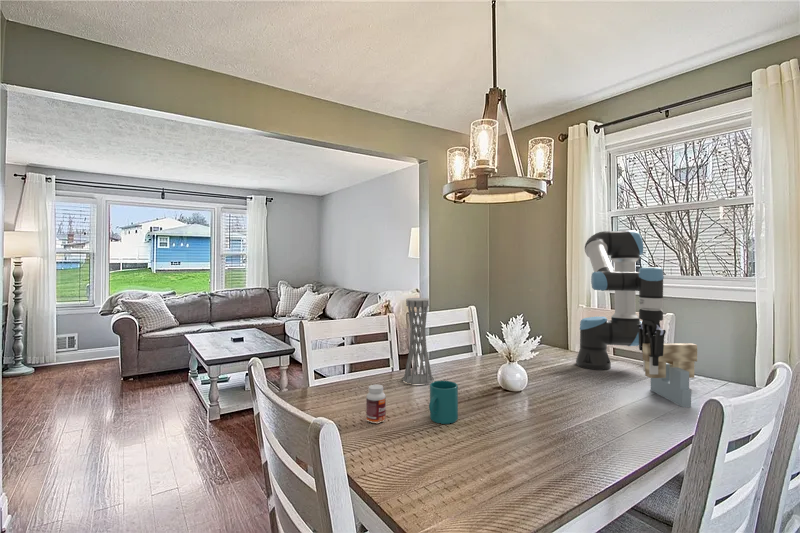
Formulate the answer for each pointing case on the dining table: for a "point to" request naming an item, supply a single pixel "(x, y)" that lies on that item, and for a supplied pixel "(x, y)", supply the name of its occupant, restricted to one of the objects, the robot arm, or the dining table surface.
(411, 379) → the vase
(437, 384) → the cup
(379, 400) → the pill bottle
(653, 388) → the slate board
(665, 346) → the maple board
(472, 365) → the dining table surface
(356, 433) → the dining table surface
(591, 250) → the robot arm
